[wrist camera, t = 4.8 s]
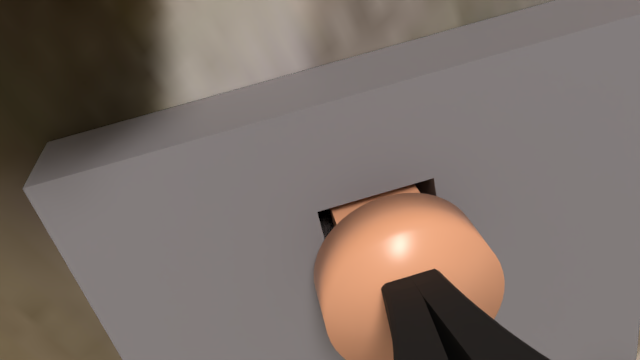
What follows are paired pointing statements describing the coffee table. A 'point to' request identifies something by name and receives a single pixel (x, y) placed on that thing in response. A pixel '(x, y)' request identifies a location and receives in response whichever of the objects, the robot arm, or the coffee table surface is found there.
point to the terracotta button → (396, 264)
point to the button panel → (368, 188)
